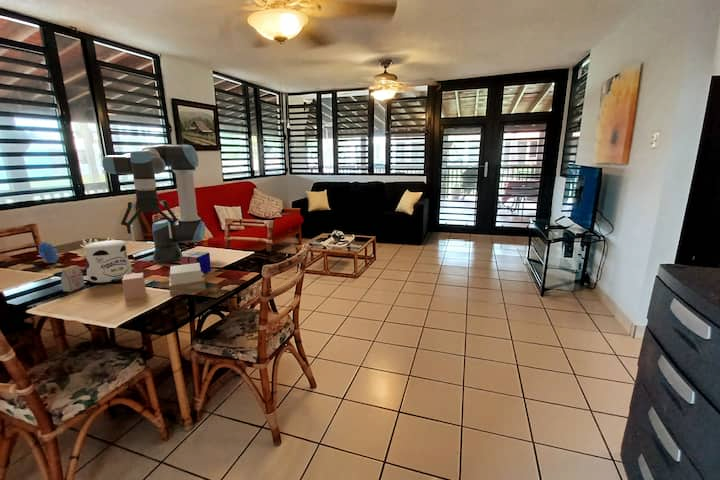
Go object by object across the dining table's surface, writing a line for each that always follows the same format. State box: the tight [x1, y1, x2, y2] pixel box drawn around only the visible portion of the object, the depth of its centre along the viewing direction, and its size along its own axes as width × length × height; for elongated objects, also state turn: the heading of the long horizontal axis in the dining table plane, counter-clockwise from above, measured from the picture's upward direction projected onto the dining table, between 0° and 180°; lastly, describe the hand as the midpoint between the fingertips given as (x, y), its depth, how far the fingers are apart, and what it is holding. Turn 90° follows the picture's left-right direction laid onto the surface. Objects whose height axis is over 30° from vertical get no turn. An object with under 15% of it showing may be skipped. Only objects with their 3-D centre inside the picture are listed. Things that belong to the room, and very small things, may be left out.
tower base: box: [168, 272, 207, 297], centre depth 153 cm, size 14×14×5 cm
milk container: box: [84, 239, 133, 285], centre depth 160 cm, size 17×17×18 cm
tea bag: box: [60, 265, 86, 293], centre depth 150 cm, size 4×7×10 cm, turn 173°
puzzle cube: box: [179, 250, 212, 275], centre depth 172 cm, size 10×10×10 cm
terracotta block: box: [121, 272, 147, 301], centre depth 143 cm, size 7×7×9 cm
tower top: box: [169, 263, 202, 285], centre depth 152 cm, size 12×12×5 cm
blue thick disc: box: [37, 241, 59, 264], centre depth 184 cm, size 12×7×12 cm, turn 79°
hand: (152, 239), depth 143 cm, fingers open, 13 cm apart
